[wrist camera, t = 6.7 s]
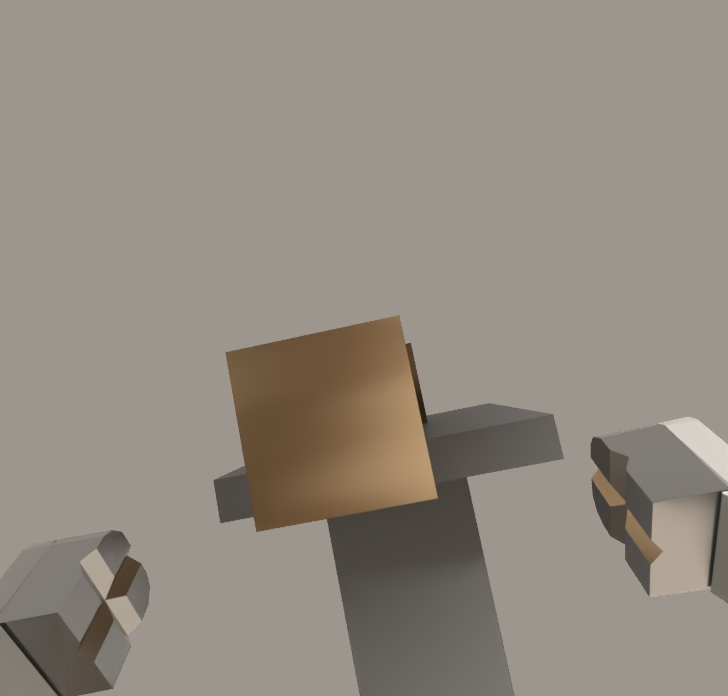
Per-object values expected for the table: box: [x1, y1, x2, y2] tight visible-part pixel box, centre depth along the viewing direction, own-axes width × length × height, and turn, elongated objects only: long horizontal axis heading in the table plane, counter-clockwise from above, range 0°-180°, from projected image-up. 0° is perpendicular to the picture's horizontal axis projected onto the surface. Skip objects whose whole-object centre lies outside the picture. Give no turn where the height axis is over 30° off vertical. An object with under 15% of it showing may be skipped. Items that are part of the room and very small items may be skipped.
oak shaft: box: [226, 316, 438, 532], centre depth 18 cm, size 4×20×4 cm, turn 175°
